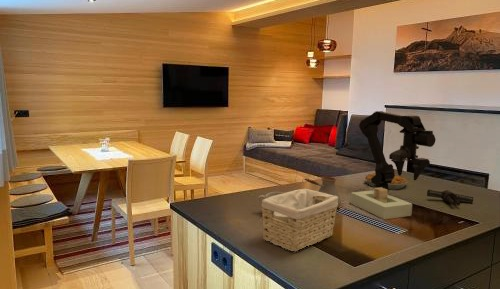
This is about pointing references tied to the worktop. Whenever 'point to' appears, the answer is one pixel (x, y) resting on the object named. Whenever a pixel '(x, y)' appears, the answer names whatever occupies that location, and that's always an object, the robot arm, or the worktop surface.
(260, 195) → the teacup
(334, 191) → the coffee pot
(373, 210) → the well box
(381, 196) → the wooden block
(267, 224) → the storage basket
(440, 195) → the black irregular piece
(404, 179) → the pie
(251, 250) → the worktop surface
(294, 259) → the worktop surface
